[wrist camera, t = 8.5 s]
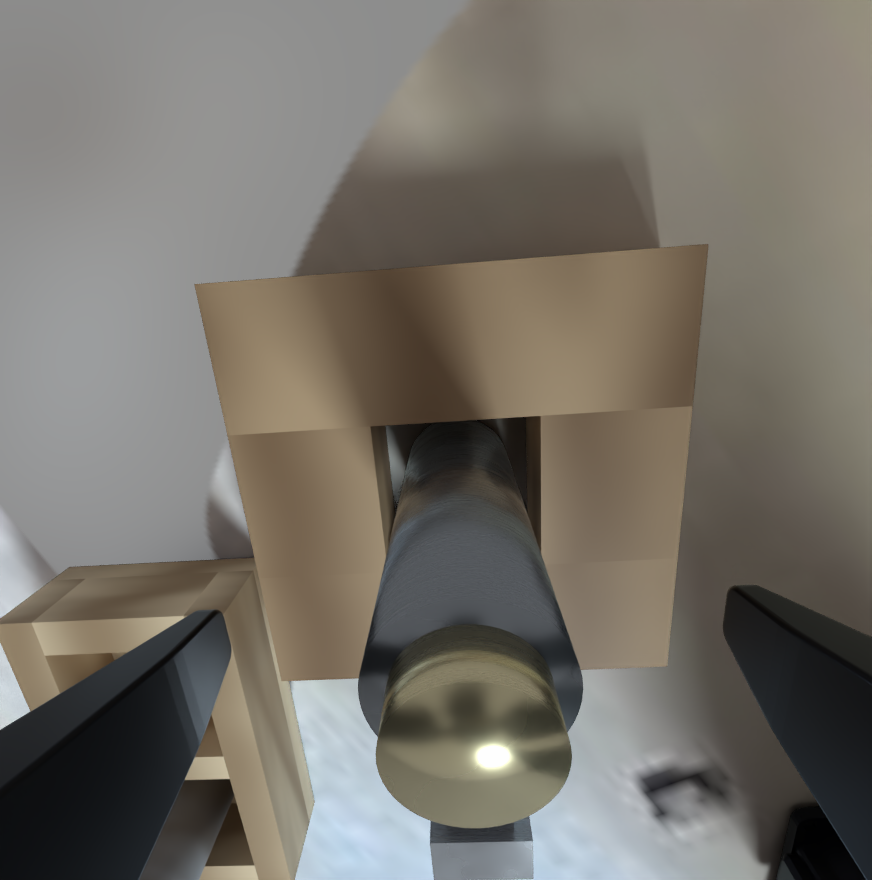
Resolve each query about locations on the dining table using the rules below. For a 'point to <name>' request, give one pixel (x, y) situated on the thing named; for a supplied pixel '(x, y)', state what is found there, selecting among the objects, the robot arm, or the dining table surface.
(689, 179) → the dining table surface
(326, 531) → the socket block
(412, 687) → the grey metal cylinder
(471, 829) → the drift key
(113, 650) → the rack
